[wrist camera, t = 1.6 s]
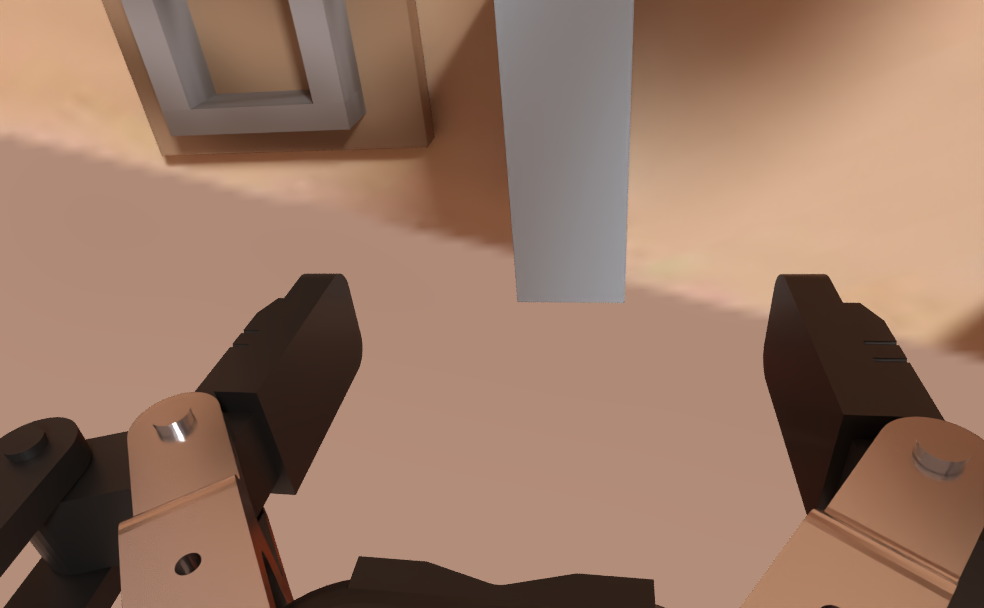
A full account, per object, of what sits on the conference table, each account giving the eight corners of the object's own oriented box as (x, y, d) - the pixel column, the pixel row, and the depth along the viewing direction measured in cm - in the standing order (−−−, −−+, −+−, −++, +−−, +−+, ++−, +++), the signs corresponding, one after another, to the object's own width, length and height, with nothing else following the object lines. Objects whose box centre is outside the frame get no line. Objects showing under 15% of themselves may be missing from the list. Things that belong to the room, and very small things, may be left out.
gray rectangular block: (525, -64, 23) (491, -33, 16) (627, -73, 22) (635, -45, 15) (539, 199, 28) (517, 301, 22) (621, 198, 27) (624, 302, 21)
